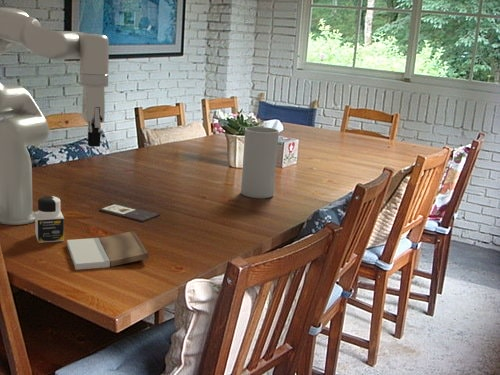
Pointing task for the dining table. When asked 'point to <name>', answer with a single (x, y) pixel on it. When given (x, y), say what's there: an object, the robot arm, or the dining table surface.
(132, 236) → the plank
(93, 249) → the laid board
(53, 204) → the medicine bottle
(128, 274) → the dining table surface
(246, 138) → the cylinder vase
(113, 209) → the chocolate bar
